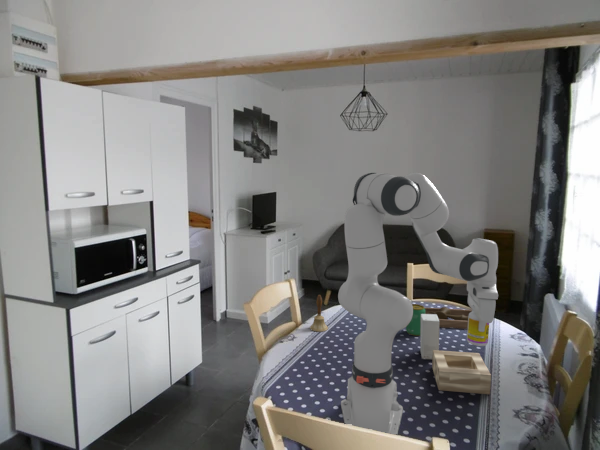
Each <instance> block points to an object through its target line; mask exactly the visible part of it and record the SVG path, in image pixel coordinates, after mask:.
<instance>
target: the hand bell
mask: <svg viewBox="0 0 600 450" xmlns="http://www.w3.org/2000/svg"><path fill="white" fill-rule="evenodd" d="M316 306H317V312H316V313H317V315H315V316H314V318H313V322H312V324H311V325H310V327H309V329H310V331H313V332H318V333H322V332H326V331H328V330H329V327H328V326H327V325H326V322H325V318H324V316H323V315H322V306H323V298H322V295H321V294H318V295H317V297H316Z"/></svg>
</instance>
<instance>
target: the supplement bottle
mask: <svg viewBox="0 0 600 450" xmlns="http://www.w3.org/2000/svg"><path fill="white" fill-rule="evenodd" d="M471 310H473V311H472V312H470V313H469V316H468V329H466V331H467V332H466V341H467V343H469V344H470V345H473V346H479V347H484V346H485V347H486V346H487V345H489V333H490V323H486V325H485V331H484V332H480V331H479V330H478V325H479V319H478V317H477V316H476V315H475V313H474V310H475V306H474V305H472V309H471Z"/></svg>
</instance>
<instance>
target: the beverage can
mask: <svg viewBox="0 0 600 450" xmlns="http://www.w3.org/2000/svg"><path fill="white" fill-rule="evenodd" d="M412 306H413V316H412V319H411V321H410V323H409V324H408V325H407V326H406V327H405V331H406V333H407V334H409V335H411V336H415V337H416V336H418V337H421V314H425V308H426V307H425V308H424V305H422V304H416V303H412Z"/></svg>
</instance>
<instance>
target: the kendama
mask: <svg viewBox="0 0 600 450" xmlns="http://www.w3.org/2000/svg"><path fill="white" fill-rule="evenodd" d="M450 309H451V308H448V307H447V306H443V307H440V310H439V311H437V312H430V313H432V314H437V316H438V319H447V320H448V319H450V320H465V321H468V316H464V315H460V316H457V315H451V311H450Z"/></svg>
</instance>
